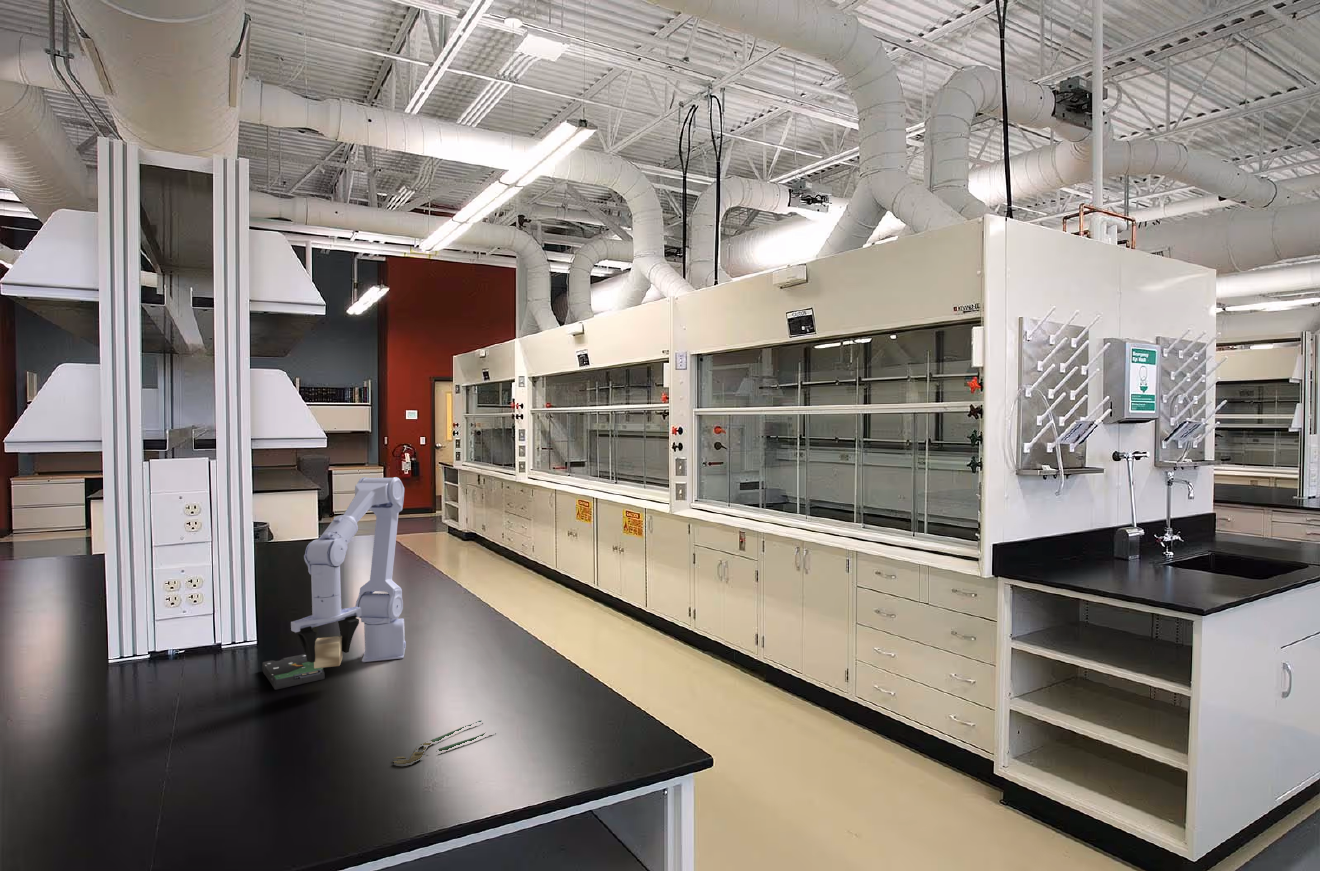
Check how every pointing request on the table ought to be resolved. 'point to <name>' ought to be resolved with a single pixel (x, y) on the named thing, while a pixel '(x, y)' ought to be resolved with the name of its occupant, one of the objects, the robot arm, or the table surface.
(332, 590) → the robot arm
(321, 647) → the maple cube
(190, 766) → the table surface
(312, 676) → the disk drive
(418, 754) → the pliers
